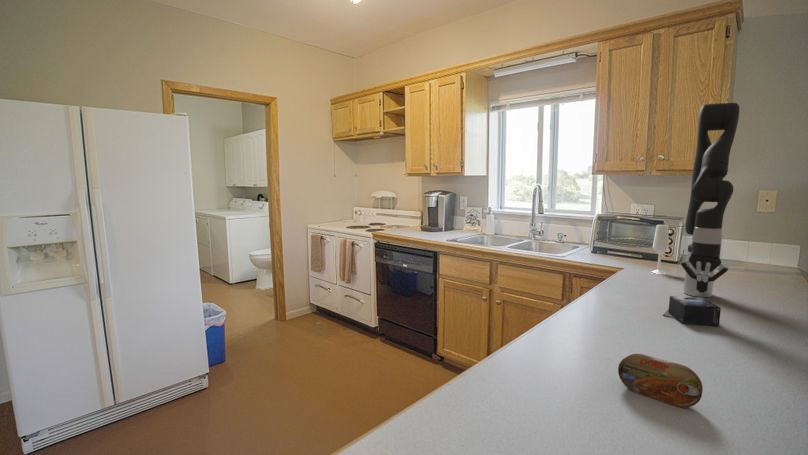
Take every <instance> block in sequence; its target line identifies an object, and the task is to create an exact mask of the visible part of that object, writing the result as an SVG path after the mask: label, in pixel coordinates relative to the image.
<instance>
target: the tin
mask: <svg viewBox="0 0 808 455" xmlns="http://www.w3.org/2000/svg"><path fill="white" fill-rule="evenodd" d="M617 374H618V376H619V379H620V380H621V382H622V384H623V385H624V386H625V387H626V389H628V390H630V391H631V392H633V393H635V394H638V395H642V396H644V397H647V398H650V399H653V400H656V401H659V402H662V403H665V404H668V405H671V406H673V407H677V408H691V407H693V406H695V405H697V404H698V403H699V402H700V401H701V399H702V396H703V390H704V388H703V387H704V386H703V382H702V381H701V379H700V377H699V375H698V374H697V373H696V372H695V371H693V370H692V369H691V368H690V367H687V366H686V365H683V364H680V363H676V362H673V361H668V360H665V359H661V358H657V357H653V356H651V355H646V354H643V353H632V354H630V355H629V354H628V355H627V356H626V357H624V358H623V359H621V361H620V362H619V364H618V367H617Z"/></svg>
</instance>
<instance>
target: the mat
mask: <svg viewBox="0 0 808 455" xmlns="http://www.w3.org/2000/svg"><path fill="white" fill-rule="evenodd" d="M668 310H669V308H668V309H667V310H666V311H665V312H664V313H663V314H662V316H663V317H667V318H671V319H676V318H675V317H674V316H672V315H671V314H670V313H669V312H668Z"/></svg>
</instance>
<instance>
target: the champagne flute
mask: <svg viewBox="0 0 808 455" xmlns="http://www.w3.org/2000/svg"><path fill="white" fill-rule="evenodd" d="M669 235H670V234H669V225H668V224H656V226H655V232H654V235H653V236H654V238H653V242H652V249H653V251H654V252H655V253H656V254H657V255H658V256H657V257H658V258H657V266H656V268H657V269H655V270H651V272H653V273H656V274H655V275H658V274H665V272H664V271H663V270H661V262H662V255H663V254H665V253H666V252H667V251H669V249H670V248H669V247H670V246H669V245H670V243H669V242H670V241H669V237H670V236H669ZM653 273H652V274H653Z"/></svg>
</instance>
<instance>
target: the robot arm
mask: <svg viewBox="0 0 808 455" xmlns="http://www.w3.org/2000/svg"><path fill="white" fill-rule="evenodd" d="M739 119H740V105H739V104H738V103H737V102H720V103H706V104H704V105H702V106H701V108H700V109H699V113H698V121H697V135H696V136H697V137H696V149H695V150H696V151H695V156H694V163H693V170H692V177H691V186H690V187H691V190H690V198H689V203H688V209H687V215H686V220H685V226H684V227H685V228H684V229H685V232H686V234H687V235H688V236H689V235H691V236H692V239H691V240H692V241H691V243H690V244H689V245H688V246H687V252H686V253H687V254H686V255H687V256H686V260H685V261H683V262H681V264H680V265H681V268H683V270H684V271H685V273H684V286H683V293H684V294H686V295H689V296H691V297H699V298H712V297H713V292H714V291H713V290H714V282H715V281H717V279H719V278H720V277H721V276H723V275H724V274H726V273H727V272H728V271H729V267H728V266H725V265H724V264H723V263H722V260H721V248H722V241H723V240H722V238H723V222H724V221H723V220H724V215H725V211H726V208H727V206H728V203H729V202H730V200H731V198H732V195H733V193H734V186H733V183H732V182H731V181H729V180H723V179H724V178H725V177H726V176H727V175H728V170H729V162H730V154H731V149H732V146H733V143H734V139H735V135H736V132H737V128H738V124H739ZM709 131H711V132H712V131H723V132H722V134H721V135H720V136H719V137H718V138H717V139H716V140H715V141H714V142H713V143H712V142H711V140H710V137H709V135H710V134H709ZM704 203H716V205H715V206H713V207H710V208H702V209H700V208H701V207H702V205H703V204H704ZM716 269H717V271H718V272H716V273H715V270H716Z"/></svg>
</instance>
